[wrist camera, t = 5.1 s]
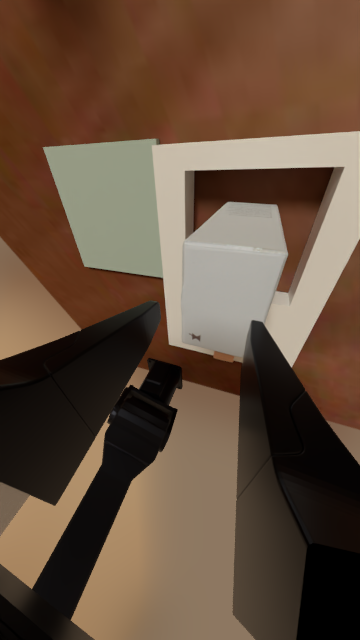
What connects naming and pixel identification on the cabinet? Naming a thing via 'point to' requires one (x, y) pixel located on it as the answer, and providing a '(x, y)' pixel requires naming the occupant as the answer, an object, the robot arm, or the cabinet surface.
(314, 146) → the cream rectangular frame
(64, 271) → the cabinet surface
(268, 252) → the skincare box
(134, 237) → the mat
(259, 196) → the cabinet surface
